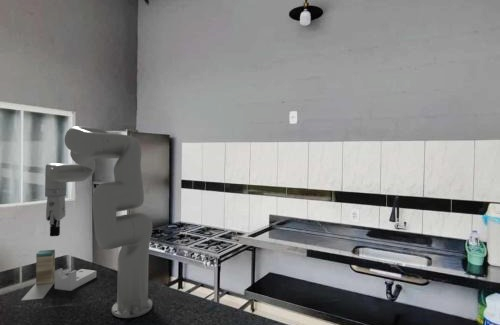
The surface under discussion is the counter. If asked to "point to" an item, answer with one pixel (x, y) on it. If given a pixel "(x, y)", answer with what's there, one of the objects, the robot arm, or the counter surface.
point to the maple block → (45, 267)
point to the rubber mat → (37, 291)
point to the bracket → (72, 278)
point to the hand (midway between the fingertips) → (54, 235)
